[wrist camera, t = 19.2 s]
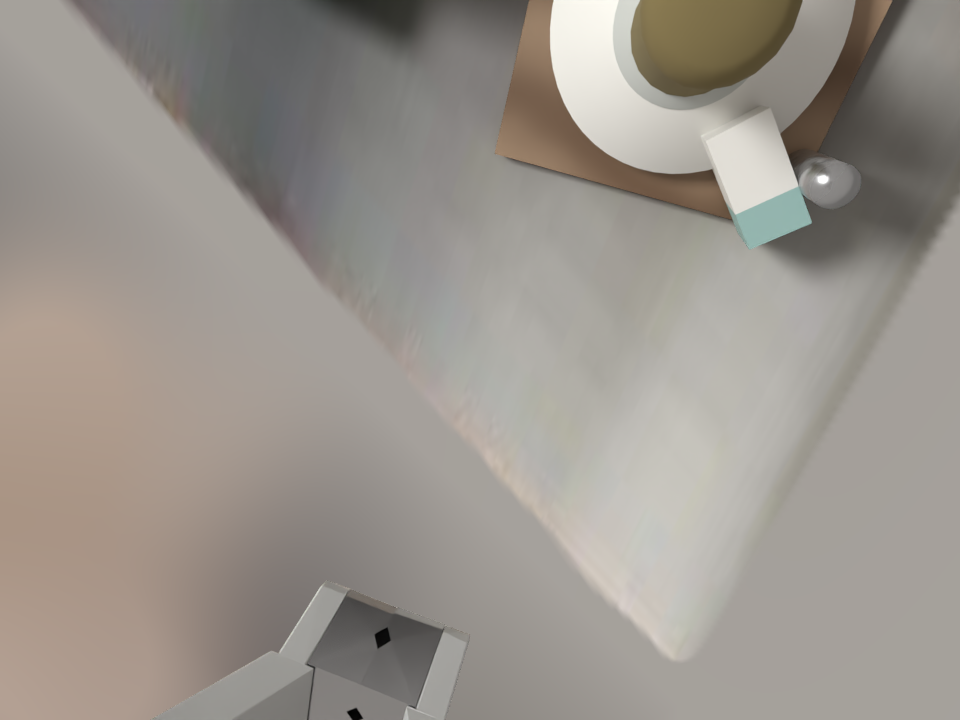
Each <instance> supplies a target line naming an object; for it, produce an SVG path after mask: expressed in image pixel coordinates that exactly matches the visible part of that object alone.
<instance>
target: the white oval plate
mask: <svg viewBox="0 0 960 720" xmlns="http://www.w3.org/2000/svg"><path fill="white" fill-rule="evenodd" d="M855 1H856V0H803V2H802V5H801V8H800V11H799V14H798V17H797V19H796V22H795V25H794V28H793V30H792V32H791V33H790V35H789V36H788V38H787V39H786V41H785V42H784V44H783V45H782V47H781V49H780V50H779V52H778V53H777V55H775V56H774V57H773V58H772V59H771V60H770V61H769V62H768V63H767V64H765V65H764V66H763V67H762V68H761V69H760V70H759V71H758V72H757V73H755V74H754V75H752V76H750V77H748V78H746V79H744V80H742V81H740V82H738V83H736V84H734V85H732V86H728V87H722V88H716V89H713V90H711V91H709V92H707V93H705V94H700V95H694V96H689V97H682V96H675V95H669V94H665V93H664V92H662V91H660V90H658V89H656V88H655V87H653V86H651V85H650V84H649V83H648V82H647V80H646V79H645V78H644V77H643V76H642V74H641V73H640V72H639V71H638V68H637V66H636V63H635V60H634V58H633V55H632V51H631V33H630V31H631V27H632V22H633V18H634V13H635V9H636V7H637V5H638V4H639V2H640V0H554V1H553V6H552V13H551V23H550V51H551V59H552V67H553V71H554V75H555V79H556V83H557V87H558V89H559V92H560V94H561V97H562V99H563V102H564V104H565V106H566V108H567V110H568V111H569V113H570V115H571V117H572V118H573V120H574V121H575V123H576V124H577V125H578V127H579V128H580V129H581V131H582V132H583V133H584V134H585V135H586V136H587V137H588V138H589V139H590V140H591V141H592V142H593V143H594V144H595V145H596V146H598V147H599V148H600V149H601V150H603V151H604V152H605V153H607V154H608V155H610V156H612V157H613V158H615V159H617V160H619V161H621V162H622V163H625V164H628V165H630V166H633V167H635V168H638V169H642V170H647V171H651V172H656V173H667V174H684V173H694V172H700V171H707V170H710V169H712V170H713V172H714V175H715V177H716V180H717V182H718V185H719V187H720V190H721V192H722V195H723V197H724V200H725V202H726V205H727V207H728V210H729V212H730V214H731V217H732V219H733V222H734V224H735V227H736V229H737V232H738V234H739V235H740V237H741V238H742V240H743V241H744V243H745V244H746V246H747V247H748V248H749V250H750V249H752V248H755V247H757V246H759V245H762V244H764V243H766V242H769V241H771V240H774V239H776V238H778V237H781V236H783V235H785V234H788V233H790V232H792V231H795V230H797V229H800V228H802V227H804V226H807V225H809V224H811V223H812V221H811V218H810V215H809V213H808V210H807V207H806V204H805V202H804V199H803V196H802V193H801V191H800V188H799V185H798V182H797V179H796V177H795V174H794V171H793V168H792V166H791V163H790V160H789V157H788V155H787V152H786V149H785V146H784V144H783V141H782V138H781V135H780V133H782V132H783V131H784V130H785V129H786V128H787V127H788V126H789V125H791V124H792V123H793V122H794V121H795V120H796V119H797V118H798V117H799V115H800V114H801V113H802V112H803V111H804V110H805V109H806V108H807V107H808V106H809V104H810V103H811V102H812V100H813V99H814V98H815V96H816V95H817V94H818V92H819V91H820V89H821V88H822V87H823V85H824V84H825V82H826V80H827V78H828V77H829V75H830V73H831V72H832V70H833V68H834V66H835V64H836V62H837V60H838V58H839V55H840V53H841V51H842V49H843V46H844V44H845V41H846V38H847V35H848V31H849V28H850V25H851V22H852V17H853V12H854V6H855Z"/></svg>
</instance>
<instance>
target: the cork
mask: <svg viewBox="0 0 960 720" xmlns="http://www.w3.org/2000/svg"><path fill="white" fill-rule="evenodd" d="M802 2H803V0H640V2H639V4H638V5H637V7H636V9H635V13H634V18H633V22H632V27H631V31H630V33H631V51H632V55H633V58H634V60H635V63H636V66H637V68H638V71H639V72H640V73H641V74H642V76H643V77H644V78H645V79H646V80H647V82H648V83H649V84H650V85H651V86H653V87H655V88H656V89H658V90H660V91H662V92H664V93H665V94H669V95H675V96H682V97H689V96H694V95H700V94H705V93H707V92H709V91H711V90H713V89H716V88H722V87H728V86H732V85H734V84H736V83H738V82H740V81H742V80H744V79H746V78H748V77H750V76H752V75H754V74H755V73H757V72H758V71H759V70H760V69H761V68H762V67H763V66H764V65H765V64H767V63H768V62H769V61H770V60H771V59H772V58H773V57H774V56H775V55H777V53H778V52H779V50H780V49H781V47H782V45H783V44H784V42H785V41H786V39H787V38H788V36H789V35H790V33H791V32H792V30H793V28H794V25H795V22H796V19H797V17H798V14H799V11H800V8H801V5H802Z"/></svg>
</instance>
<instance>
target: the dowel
mask: <svg viewBox="0 0 960 720" xmlns="http://www.w3.org/2000/svg"><path fill="white" fill-rule="evenodd" d="M788 157H789V160H790V163H791V166H792V168H793V171H794V174H795V177H796V179H797V182H798V185H799V188H800V191H801V193H802V195H803V196H805V197H806V198H808V199H809V200H811V201H812V202H814V203H815V204H817V205H818V206H820V207H822V208H825V209H836V208H840V207H843V206H845V205H846V204H848V203H849V202H851V201H852V200H853V199H854V198H855V197H856V195H857V194H858V192H859V190H860V187H861V175H860V173H859V171H858V170H857V169H856V168H855V167H854V166H852V165H850V164H848V163H845V162H842V161H840V160H837V159H835V158H832V157H829V156H827V155H824V154H821V153H819V152H816V151H814V150H811V149H800V150H797V151H794V152H793V153H791V154H790V155H789V156H788Z"/></svg>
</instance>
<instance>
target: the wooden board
mask: <svg viewBox="0 0 960 720" xmlns="http://www.w3.org/2000/svg"><path fill="white" fill-rule="evenodd" d="M553 1H554V0H529V3H528V7H527V12H526V16H525V21H524V25H523V30H522V34H521V39H520V43H519V48H518V52H517V56H516V61H515V65H514V70H513V74H512V79H511V83H510V88H509V92H508V97H507V101H506V105H505V110H504V114H503V119H502V123H501V128H500V132H499V137H498V141H497V146H496V150H495V154H498V155H501V156H505V157H509V158H512V159H516V160H519V161H523V162H526V163H530V164H534V165H537V166H541V167H544V168H548V169H552V170H555V171H559V172H562V173H566V174H569V175H573V176H577V177H580V178H584V179H587V180H591V181H595V182H598V183H602V184H605V185H609V186H612V187H616V188H620V189H623V190H627V191H630V192H634V193H638V194H641V195H645V196H648V197H652V198H655V199H659V200H663V201H666V202H670V203H673V204H677V205H681V206H684V207H688V208H691V209H695V210H698V211H702V212H706V213H709V214H713V215H716V216H720V217H724V218H727V219H731V220H733V219H732V217H731V214H730V212H729V210H728V207H727V205H726V202H725V200H724V197H723V195H722V192H721V190H720V187H719V185H718V182H717V180H716V177H715V175H714V172H713V170H712V169H710V170H707V171H700V172H694V173H684V174H667V173H656V172H651V171H647V170H642V169H638V168H635V167H633V166H630V165H628V164H625V163H622V162H621V161H619V160H617V159H615V158H613V157H612V156H610V155H608V154H607V153H605V152H604V151H603V150H601V149H600V148H599V147H598V146H596V145H595V144H594V143H593V142H592V141H591V140H590V139H589V138H588V137H587V136H586V135H585V134H584V133H583V132H582V131H581V129H580V128H579V127H578V125H577V124H576V123H575V121H574V120H573V118H572V117H571V115H570V113H569V111H568V110H567V108H566V106H565V104H564V102H563V99H562V97H561V94H560V92H559V89H558V87H557V83H556V79H555V75H554V71H553V67H552V59H551V51H550V23H551V13H552V6H553ZM892 1H893V0H856V1H855V6H854V12H853V17H852V22H851V25H850V28H849V31H848V35H847V38H846V41H845V44H844V46H843V49H842V51H841V53H840V55H839V58H838V60H837V62H836V64H835V66H834V68H833V70H832V72H831V73H830V75H829V77H828V78H827V80H826V82H825V84H824V85H823V87H822V88H821V89H820V91H819V92H818V94H817V95H816V96H815V98H814V99H813V100H812V102H811V103H810V104H809V106H808V107H807V108H806V109H805V110H804V111H803V112H802V113H801V114H800V115H799V117H798V118H797V119H796V120H795V121H794V122H793V123H792V124H791V125H789V126H788V127H787V128H786V129H785V130H784V131H783V132H782V133H780V135H781V138H782V141H783V144H784V146H785V149H786V152H787V155H788V156H789V155H790V154H791V153H793V152H794V151H797V150H800V149H811V150H814V151H816V152H818V150H819V148H820V146H821V144H822V142H823V140H824V138H825V136H826V134H827V132H828V130H829V128H830V126H831V124H832V122H833V120H834V118H835V116H836V114H837V112H838V110H839V108H840V106H841V104H842V102H843V100H844V98H845V96H846V94H847V92H848V90H849V88H850V86H851V84H852V82H853V80H854V78H855V75H856V73H857V71H858V69H859V67H860V65H861V63H862V61H863V59H864V57H865V55H866V53H867V51H868V49H869V47H870V45H871V43H872V41H873V39H874V37H875V35H876V33H877V31H878V29H879V27H880V25H881V23H882V21H883V19H884V17H885V15H886V13H887V11H888V9H889V7H890V5H891V3H892Z"/></svg>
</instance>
